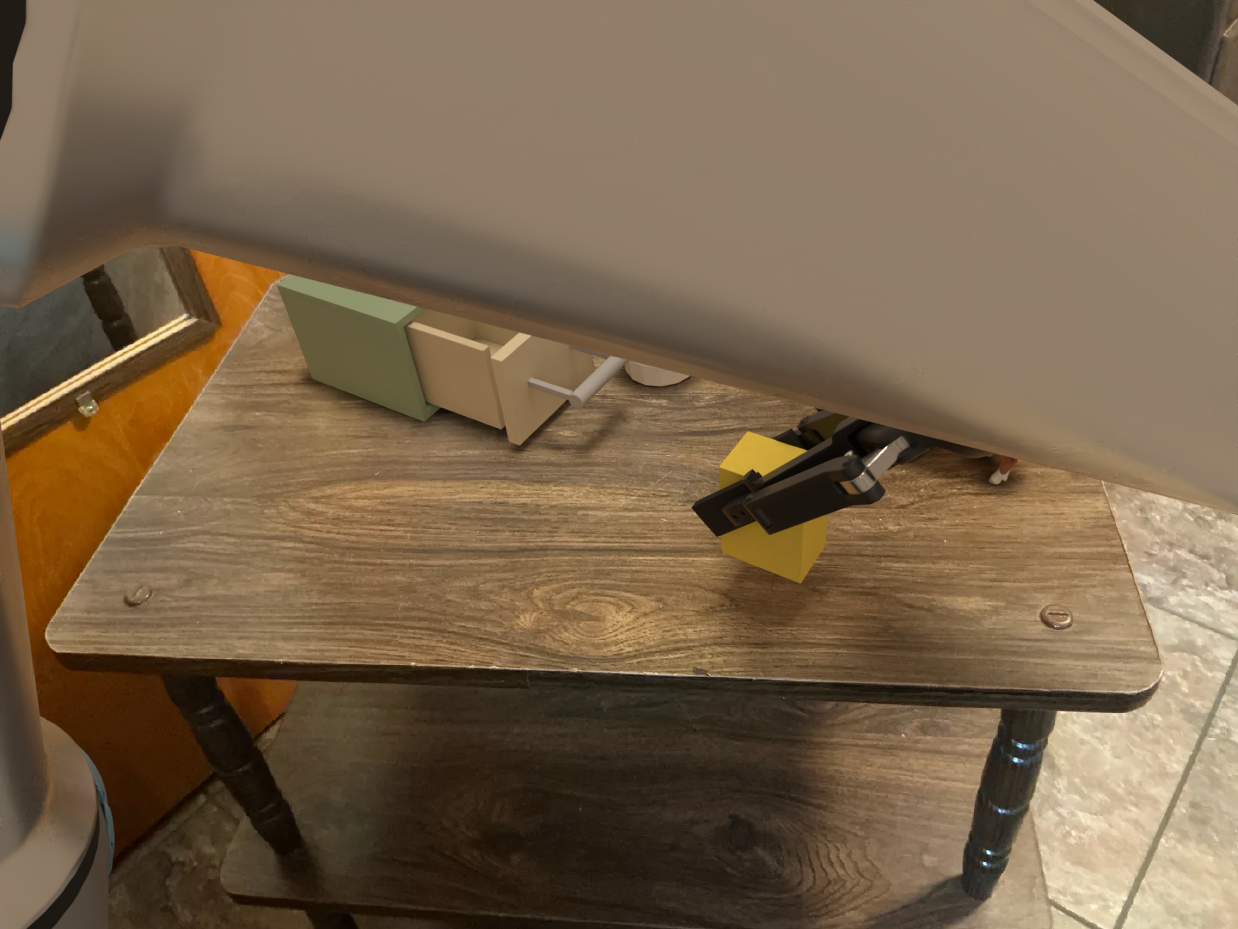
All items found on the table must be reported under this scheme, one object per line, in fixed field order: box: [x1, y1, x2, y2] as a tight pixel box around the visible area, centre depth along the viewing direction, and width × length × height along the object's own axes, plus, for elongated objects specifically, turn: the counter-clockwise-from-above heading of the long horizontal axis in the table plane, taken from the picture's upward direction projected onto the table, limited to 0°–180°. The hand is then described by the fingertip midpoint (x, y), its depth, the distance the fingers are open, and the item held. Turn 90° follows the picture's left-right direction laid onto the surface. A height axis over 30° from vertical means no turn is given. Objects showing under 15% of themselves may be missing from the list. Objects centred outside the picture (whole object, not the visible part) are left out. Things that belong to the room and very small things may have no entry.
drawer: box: [404, 309, 629, 446], centre depth 85 cm, size 19×11×9 cm, turn 57°
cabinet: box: [276, 274, 442, 422], centre depth 92 cm, size 15×13×11 cm
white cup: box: [624, 361, 691, 387], centre depth 88 cm, size 8×8×10 cm
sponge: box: [718, 430, 829, 584], centre depth 65 cm, size 4×6×8 cm, turn 57°
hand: (723, 497), depth 67 cm, fingers closed on sponge, 4 cm apart
